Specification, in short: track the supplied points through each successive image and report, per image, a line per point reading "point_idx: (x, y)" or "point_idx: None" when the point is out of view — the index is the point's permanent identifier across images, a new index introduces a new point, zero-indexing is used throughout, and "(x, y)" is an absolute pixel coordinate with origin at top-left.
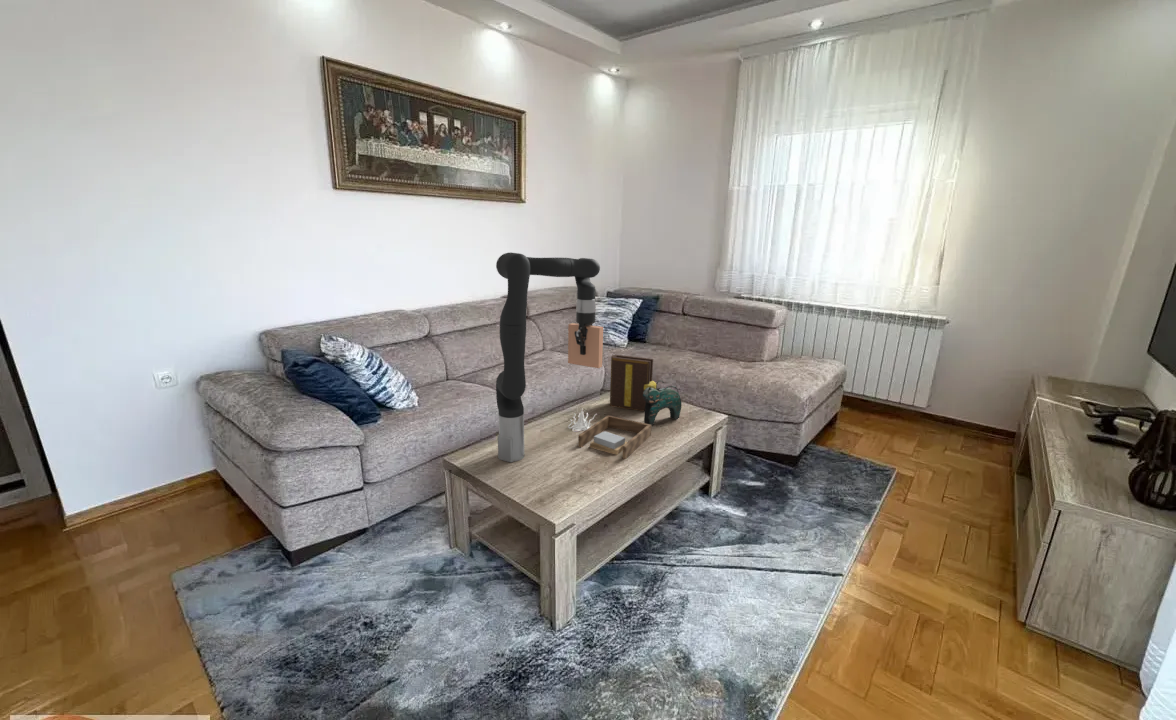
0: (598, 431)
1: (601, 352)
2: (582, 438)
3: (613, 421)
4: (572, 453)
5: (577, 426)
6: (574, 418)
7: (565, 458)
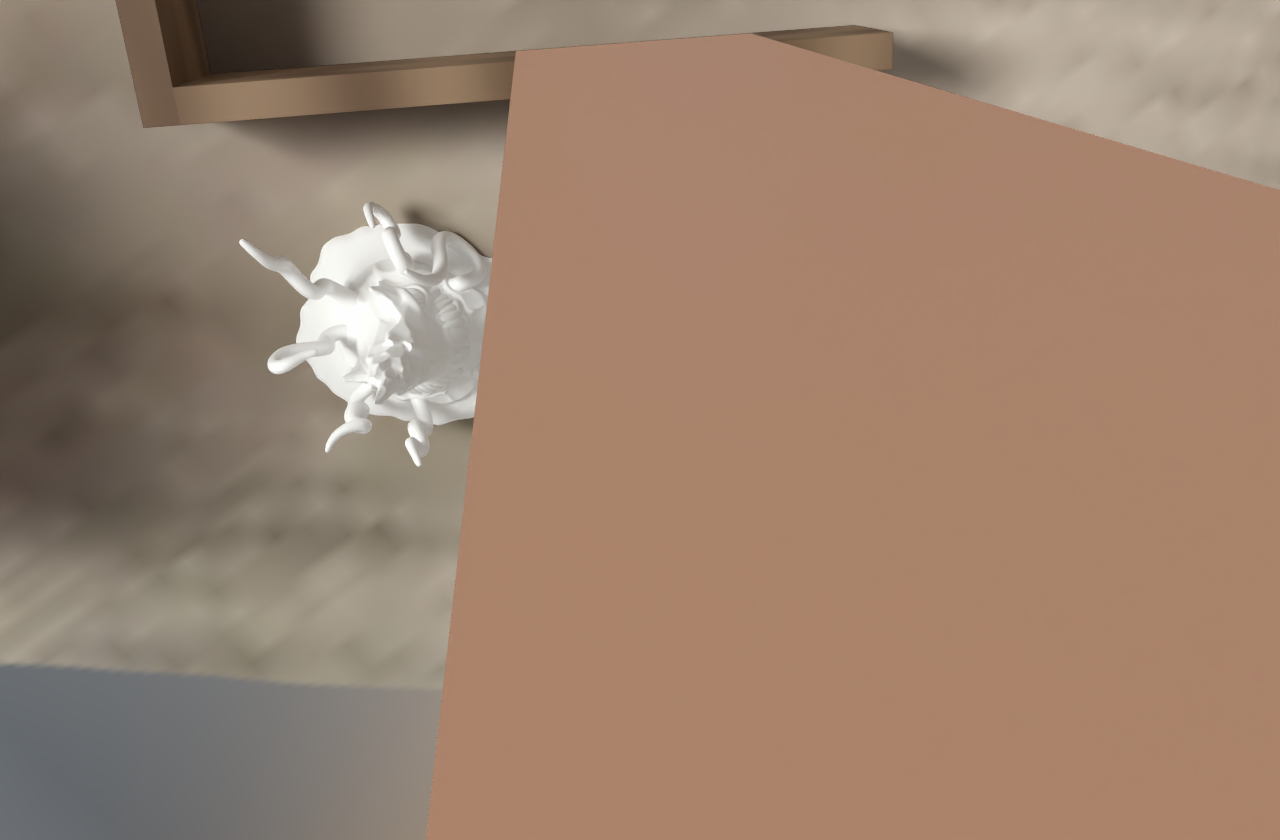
0: (467, 57)
1: (623, 93)
2: (849, 31)
3: (173, 13)
4: (1011, 17)
5: (482, 337)
6: (425, 434)
7: (1137, 9)
